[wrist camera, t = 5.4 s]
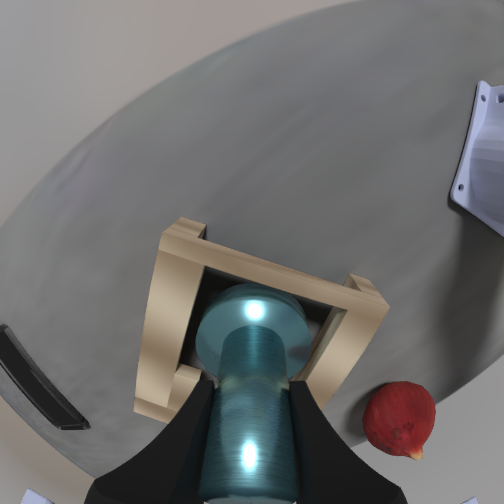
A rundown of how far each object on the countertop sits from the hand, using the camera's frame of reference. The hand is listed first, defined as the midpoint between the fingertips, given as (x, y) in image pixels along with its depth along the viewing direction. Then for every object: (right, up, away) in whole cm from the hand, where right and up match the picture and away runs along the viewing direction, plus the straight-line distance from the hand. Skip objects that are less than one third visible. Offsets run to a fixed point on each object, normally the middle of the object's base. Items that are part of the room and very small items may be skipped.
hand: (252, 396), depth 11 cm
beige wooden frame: (-1, 0, +7) cm, 7 cm away
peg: (0, +2, +5) cm, 5 cm away
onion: (+11, -5, +9) cm, 15 cm away
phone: (-25, -9, +12) cm, 29 cm away
